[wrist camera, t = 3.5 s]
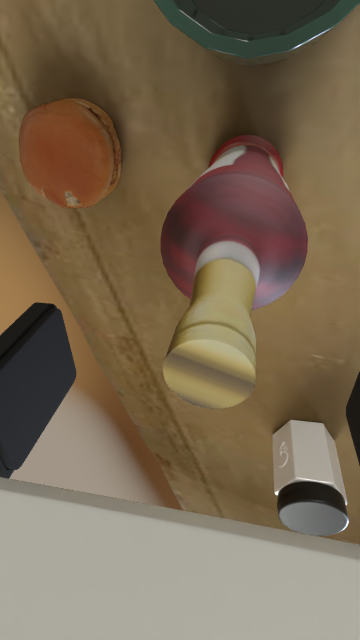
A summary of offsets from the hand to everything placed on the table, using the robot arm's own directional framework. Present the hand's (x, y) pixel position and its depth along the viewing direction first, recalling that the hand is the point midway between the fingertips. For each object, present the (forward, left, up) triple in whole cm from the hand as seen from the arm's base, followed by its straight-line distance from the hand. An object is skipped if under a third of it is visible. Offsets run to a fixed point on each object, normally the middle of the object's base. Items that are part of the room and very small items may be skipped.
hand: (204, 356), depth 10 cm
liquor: (0, 0, -27) cm, 27 cm away
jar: (+26, +29, -27) cm, 48 cm away
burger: (+7, -15, -27) cm, 32 cm away
